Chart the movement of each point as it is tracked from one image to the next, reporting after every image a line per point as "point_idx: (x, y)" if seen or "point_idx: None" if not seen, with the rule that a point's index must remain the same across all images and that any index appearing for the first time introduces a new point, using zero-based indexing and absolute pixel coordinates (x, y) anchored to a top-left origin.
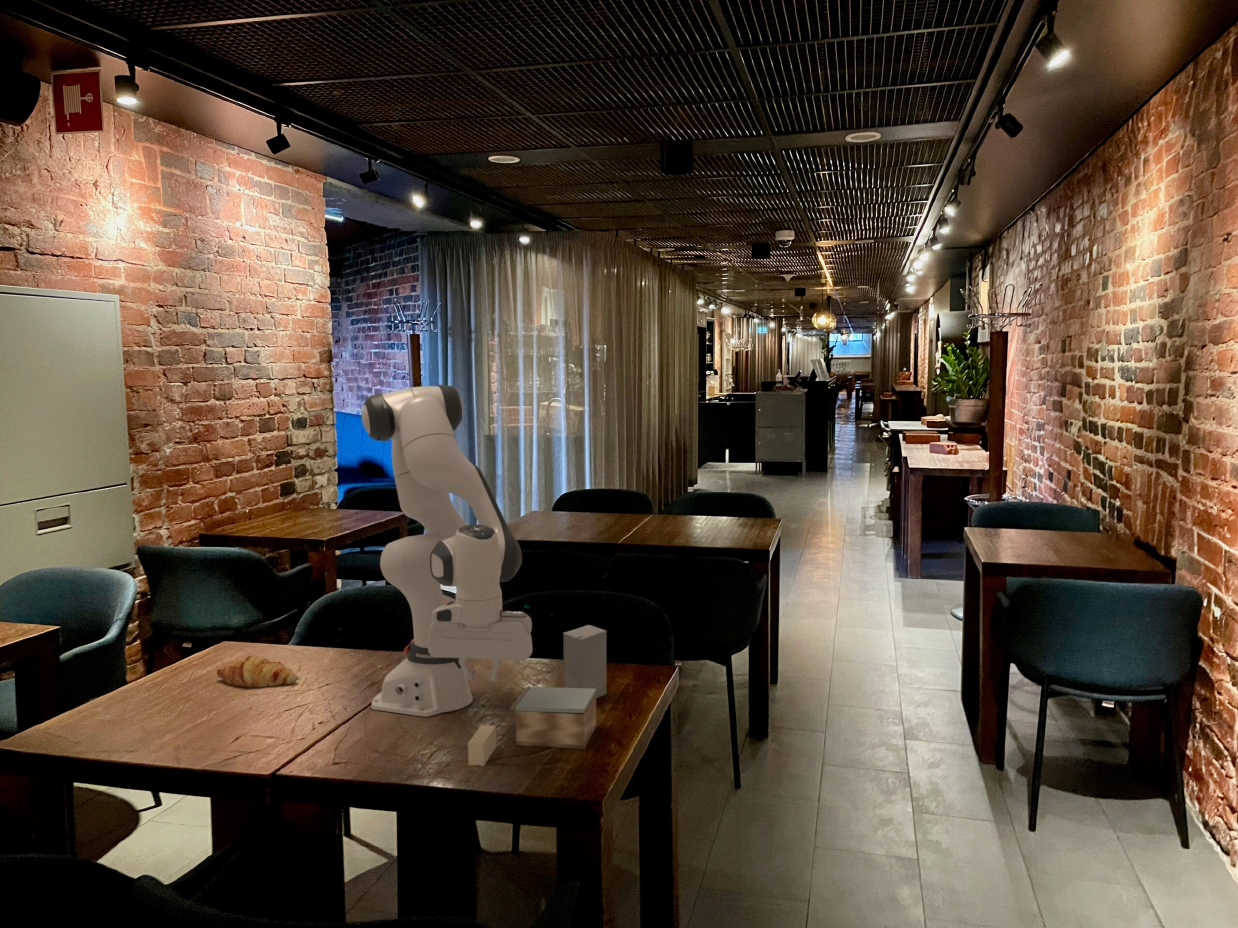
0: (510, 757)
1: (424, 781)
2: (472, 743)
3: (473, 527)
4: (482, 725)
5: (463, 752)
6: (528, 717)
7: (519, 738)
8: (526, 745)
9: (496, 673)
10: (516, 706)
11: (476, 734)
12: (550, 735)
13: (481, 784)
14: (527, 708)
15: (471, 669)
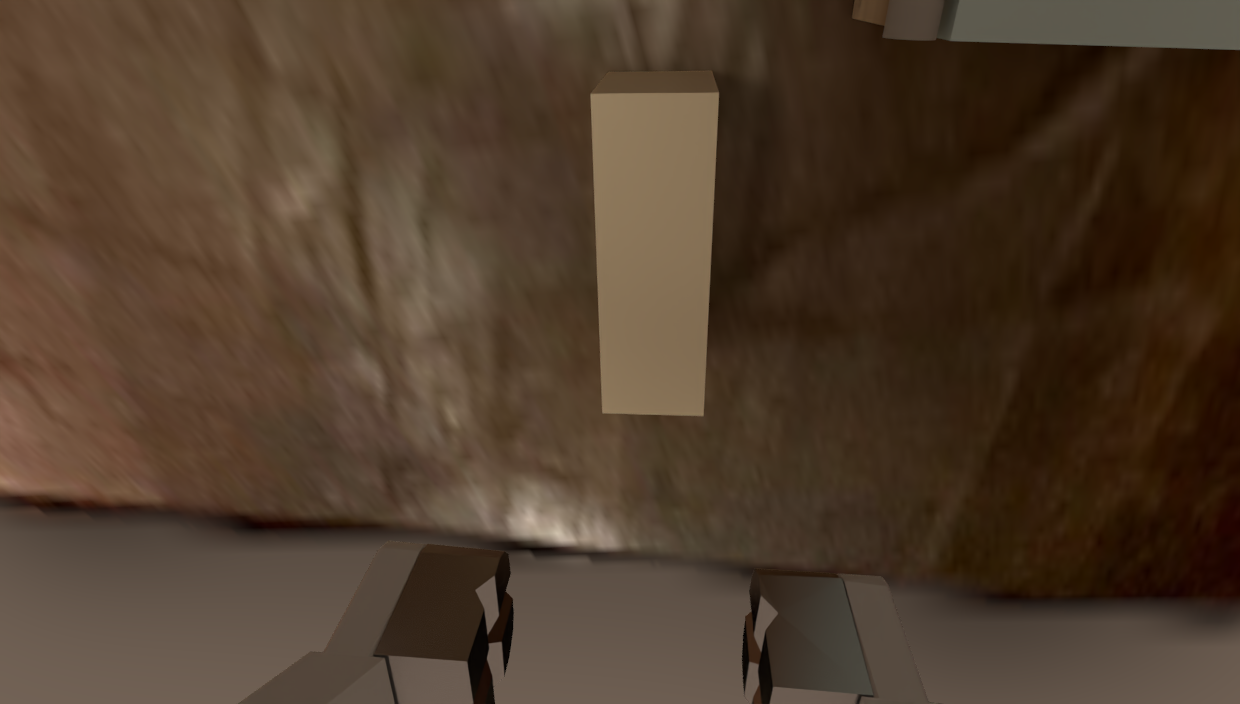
0: (835, 232)
1: (477, 508)
2: (632, 412)
3: None
4: (601, 95)
5: (525, 188)
6: None
7: None
8: None
9: (904, 660)
10: (964, 26)
11: (612, 278)
12: None
13: (739, 520)
14: (1094, 42)
15: (401, 662)
